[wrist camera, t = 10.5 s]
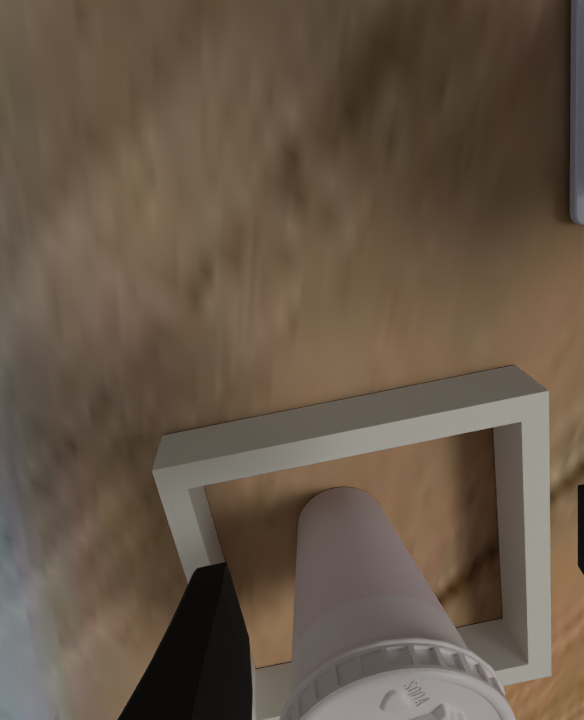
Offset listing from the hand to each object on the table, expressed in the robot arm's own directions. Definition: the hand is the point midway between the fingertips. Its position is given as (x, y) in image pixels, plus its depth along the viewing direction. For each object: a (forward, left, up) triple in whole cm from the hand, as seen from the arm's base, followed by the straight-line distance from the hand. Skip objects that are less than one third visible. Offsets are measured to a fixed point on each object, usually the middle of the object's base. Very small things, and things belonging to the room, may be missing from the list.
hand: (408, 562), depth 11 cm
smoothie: (+1, +7, -11) cm, 13 cm away
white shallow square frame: (0, +8, -10) cm, 13 cm away
